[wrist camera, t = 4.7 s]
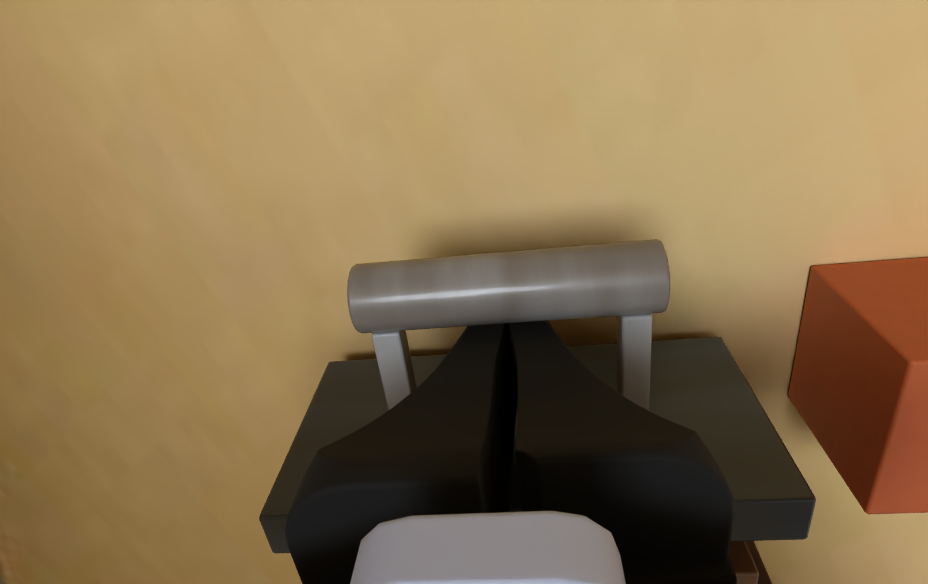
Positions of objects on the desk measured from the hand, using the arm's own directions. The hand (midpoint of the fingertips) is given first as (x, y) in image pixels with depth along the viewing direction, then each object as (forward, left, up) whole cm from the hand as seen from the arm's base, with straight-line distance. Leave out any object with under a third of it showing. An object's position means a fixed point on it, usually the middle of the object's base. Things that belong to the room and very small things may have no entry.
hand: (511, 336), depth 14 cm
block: (-11, +3, -3) cm, 11 cm away
